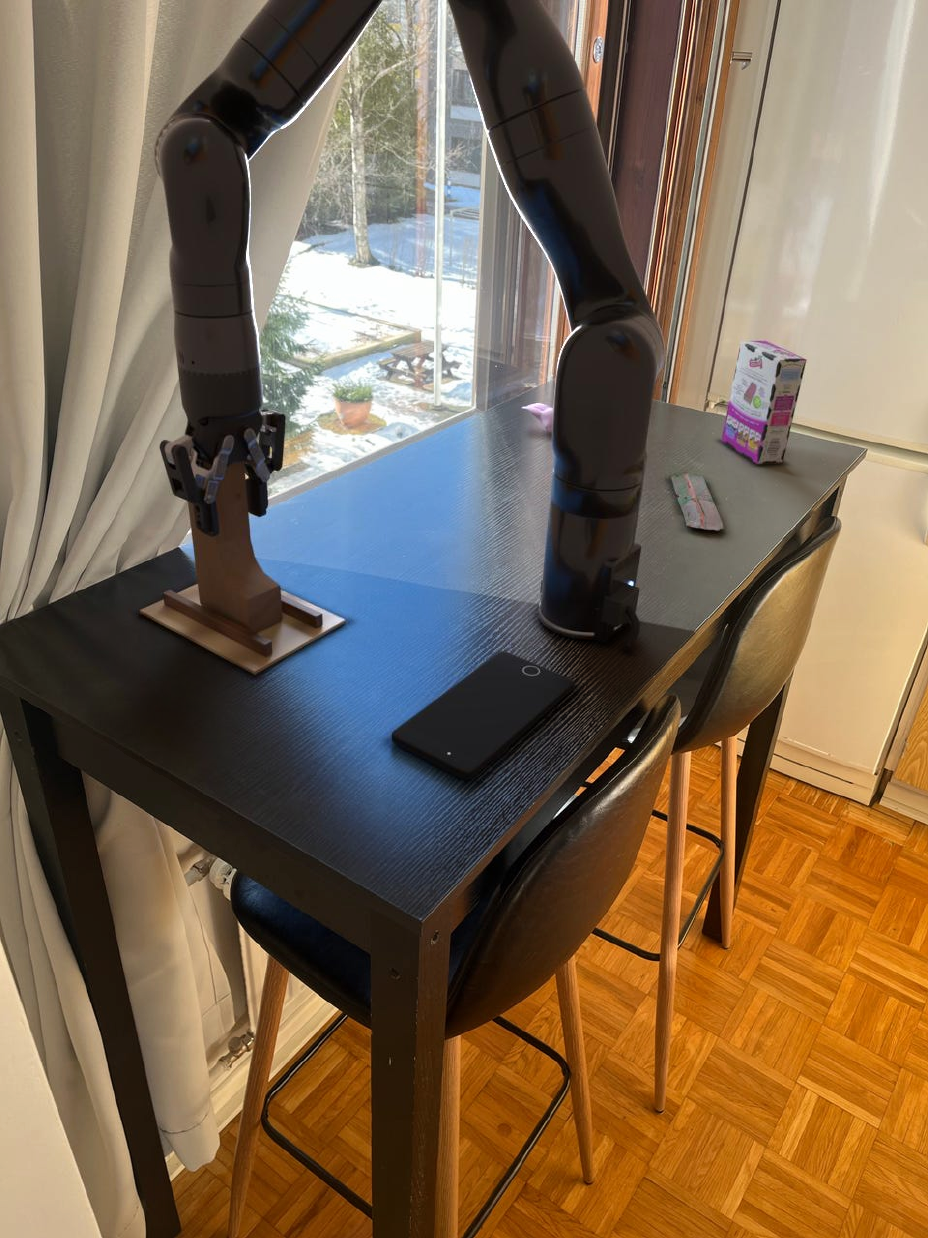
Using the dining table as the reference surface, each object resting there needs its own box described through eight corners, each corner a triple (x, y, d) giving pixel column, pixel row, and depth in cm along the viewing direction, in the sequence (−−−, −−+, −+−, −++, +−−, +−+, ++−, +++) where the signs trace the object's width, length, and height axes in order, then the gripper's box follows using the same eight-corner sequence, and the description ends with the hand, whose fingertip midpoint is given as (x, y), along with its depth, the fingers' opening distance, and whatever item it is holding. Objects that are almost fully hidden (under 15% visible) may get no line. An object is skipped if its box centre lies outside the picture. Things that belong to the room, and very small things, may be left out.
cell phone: (576, 688, 93) (577, 680, 93) (468, 783, 80) (469, 775, 80) (501, 656, 97) (502, 649, 97) (388, 742, 85) (388, 733, 84)
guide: (345, 622, 102) (345, 607, 101) (254, 674, 93) (253, 658, 92) (233, 570, 111) (231, 555, 110) (140, 613, 102) (137, 598, 101)
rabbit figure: (604, 449, 153) (534, 412, 161) (613, 416, 150) (542, 379, 157) (580, 459, 149) (510, 420, 157) (589, 425, 146) (517, 386, 153)
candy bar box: (784, 463, 148) (809, 358, 139) (757, 466, 146) (779, 360, 138) (746, 438, 157) (766, 338, 148) (719, 440, 156) (738, 340, 147)
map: (701, 478, 142) (702, 472, 142) (726, 531, 124) (727, 525, 124) (668, 476, 143) (668, 470, 142) (688, 529, 125) (689, 522, 124)
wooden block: (284, 621, 101) (273, 462, 92) (250, 637, 98) (235, 475, 89) (232, 591, 106) (217, 438, 97) (198, 605, 103) (179, 449, 94)
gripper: (182, 384, 81) (202, 559, 90) (303, 351, 91) (310, 512, 100) (127, 366, 85) (152, 536, 93) (249, 336, 95) (261, 492, 103)
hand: (234, 523), depth 96 cm, fingers open, 5 cm apart
